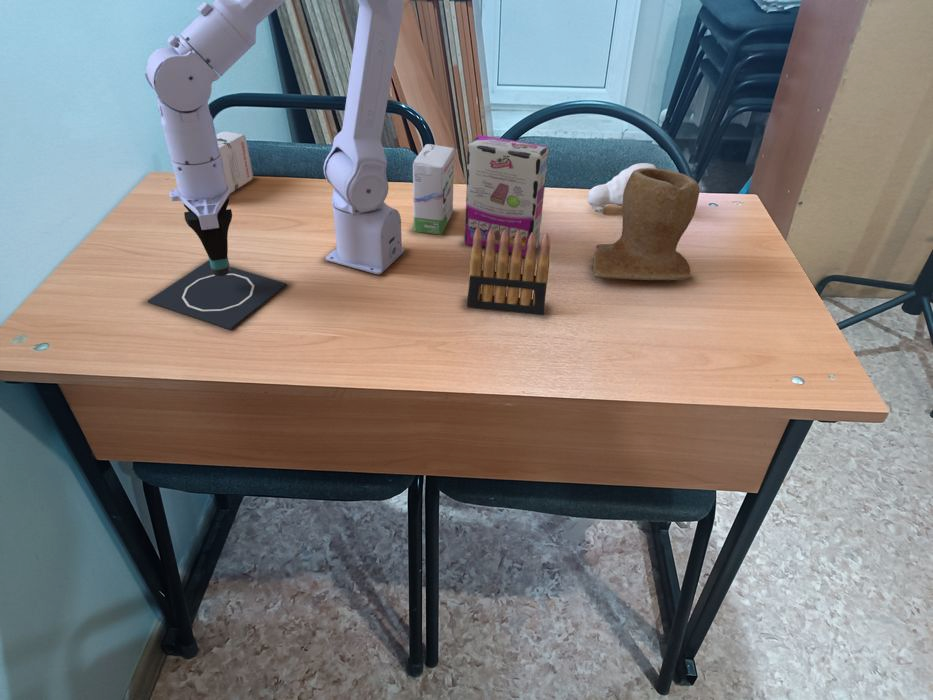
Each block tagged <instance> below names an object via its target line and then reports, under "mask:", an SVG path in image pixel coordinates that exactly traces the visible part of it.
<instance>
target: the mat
mask: <svg viewBox="0 0 933 700" xmlns="http://www.w3.org/2000/svg"><path fill="white" fill-rule="evenodd" d="M230 270H231V271H230V273H228V274H227V275H224V276H216V275H214V274H213V273H212V269H211V265H210V261H209V259H208V260H207V261H206V262H204V263H202V264H201V265H199V266H198V267H196V268H195V269H193V270H191V271H190V272H189V273H187V274H186V275H184V276H183V277H181V278H179V279H178V280H177V281H175V282H174V283H172V284H170V285H169V286H168V287H166V288H164V289H163V290H161V291H160V292H158V293H157V294H155V295H154V296H152V297H151V298H150V299H148V300H147V303H148V304H151V305H154V306H157V307H160V308H163V309H167V310H169V311H172V312H174V313H175V312H176V313H178V314H181V315H184V316H187V317H190V318H192V319H195V320H199V321H202V322H204V323H208V324H211V325H214V326H216V327H219V328H223V329H226V330H229V331H232V330H234V329H235V328H236V326H238V325H239V324H240V323H242V322H243V321H244V320H245V319H247V318H248V317H249V316H251V315H252V314H253V313H254V312H256V311H257V310H258V309H259V308H261V307H262V306H263V305H264V304H266V303H267V302H269V300H271V299H272V298H273V297H274V296H275V295H277V294H278V293H279V292H280V291H281V290H283V289H284V288H285V287H287V286H288V284H287V283H286V282H283V281H281V280H276V279H272V278H269V277H266V276H264V275H263V276H262V275H260V274H256V273H253V272H249V271H247V270H243V269H239V268H236V267H233V266H230Z"/></svg>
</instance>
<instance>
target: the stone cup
mask: <svg viewBox="0 0 933 700" xmlns="http://www.w3.org/2000/svg"><path fill="white" fill-rule="evenodd" d="M700 190H701V189H700V185H699V183H698V182H697V181H696V179H694V178H693V177H691V176H689V175H687V174H684V173H681V172H678V171H675V170H670V169H664V168H656V169H653V168H641V169H637V170H635V171H633V172H632V174H631V176H630V178H629V179H628V182H627V184H626V186H625V189H624V193H623V206H622V227H621V234H620V237H619V239H617V240H616V241H614V242H612V243H598V244H596V246H595V247H596V249H595V251H594V253H593V254H594V257H593V265H592V275H593V277H594V278H600V279H601V278H602V279H618V280H636V281H682V280H687V279H689V278H690V276H691V273H692V271H691V266H690V264H689V262H688V260H687V259H686V258H685V256H683V255H682V253H680V252H679V251H677V248H678V244H679V243H680V240H681V238H682V236H683V235H684V233H685V232H686V231H687V229H688V227H689V226H690V224H691V222H692V220H693V218H694V216H695V213H696V210H697V207H698V202H699V196H700Z"/></svg>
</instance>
